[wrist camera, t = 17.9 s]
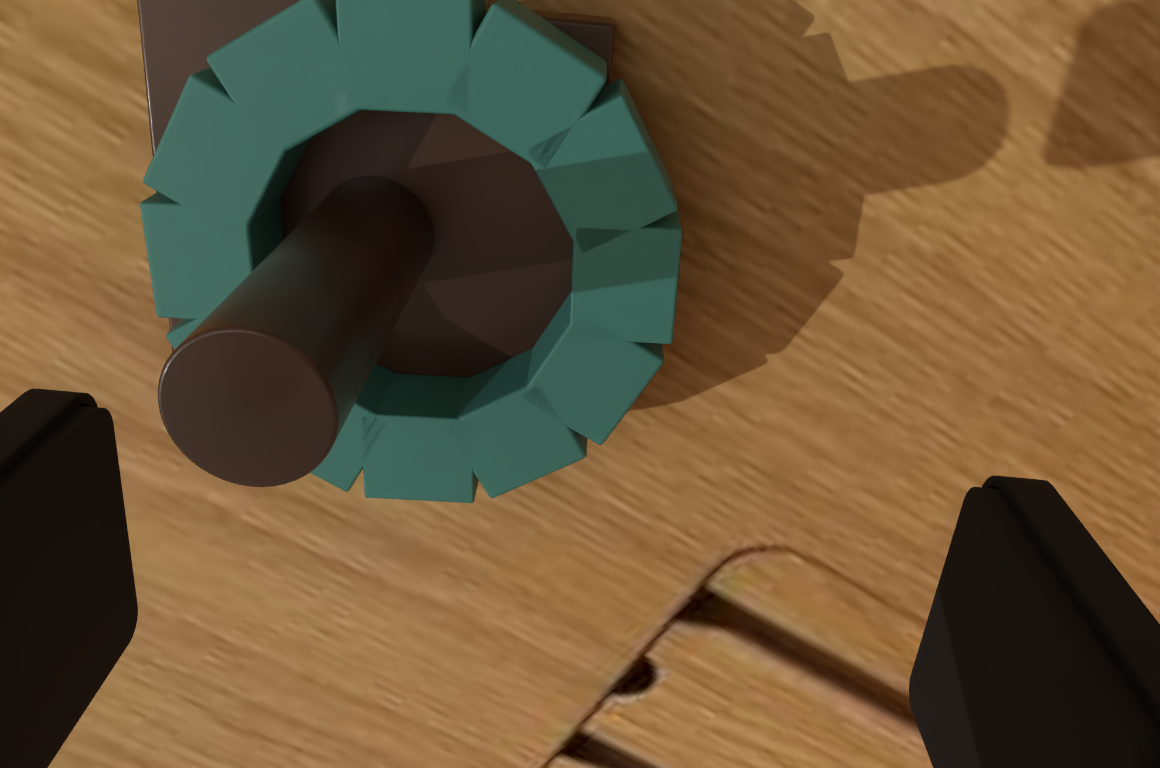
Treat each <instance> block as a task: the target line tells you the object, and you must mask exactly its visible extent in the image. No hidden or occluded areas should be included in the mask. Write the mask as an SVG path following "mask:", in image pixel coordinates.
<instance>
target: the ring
mask: <svg viewBox="0 0 1160 768" xmlns="http://www.w3.org/2000/svg"><path fill="white" fill-rule="evenodd" d="M207 62H208V63H209V65H210V67H208V68H206V69H203V70H201V71H198V72H196V73H193V74H191V75H190V76H189V78H188V80H187V82H186V84H185V87H184V89H183V91H182V93H181V96H180V98H179V100H178V102H177V105H176V107H175V109H174V111H173V114H172V116H171V118H170V120H169V123H168V125H167V127H166V129H165V132H164V134H163V136H162V138H161V141H160V143H159V145H158V147H157V150H156V152H155V154H154V156H153V159H152V161H151V163H150V165H149V168H148V170H147V172H146V174H145V177H144V180H143V182H144V183H145V184H146V185H147V186H149V187H151V188H153V189H154V190H156V191H158V192H157V193H155V194H154V195H152V196H150V197H149V198H147V199H145V200H144V201H142V202H141V204H140V208H141V215H142V221H143V228H144V234H145V241H146V247H147V254H148V261H149V267H150V274H151V280H152V287H153V293H154V300H155V307H156V313H157V316H158V317H161V318H181V319H182V320H181V321H180V322H178V323H177V324H176V325H175V326H174V327H173V328H172V329H171V330H170V331H169V332H168V333H167V334H166V337H167V339H168V340H169V342H170V343H171V344H172V346H173V347H174V348H175V349H176V348H177V347H178V346H179V345H180V344H181V343H182V342H183V341H184V340H185V339H186V338H187V337H188V336H189V335H190V334H191V333H192V332H193V331H194V330H195V329H196V328H197V327H198V326H199V325H200V324H201V323H202V322H203V321H204V320H205V319H206V318H207V317H208V316H209V315H210V314H211V313H212V312H213V311H214V310H215V309H216V308H217V307H218V306H219V305H220V304H221V303H222V302H223V301H224V300H225V298H226V297H227V296H228V295H229V294H230V293H231V292H232V291H233V290H234V289H235V288H236V287H237V286H238V285H239V284H240V283H241V282H242V281H243V280H244V279H245V278H246V277H247V276H248V275H249V274H250V273H251V272H252V271H253V270H254V269H255V268H256V267H257V266H258V265H259V264H260V263H261V262H262V261H263V260H264V259H265V258H266V257H267V256H268V255H269V254H270V253H271V252H272V251H273V250H274V249H275V248H276V247H277V246H278V245H279V244H280V243H281V242H282V241H283V240H284V238H283V227H282V216H281V205H280V197H281V196H282V194H283V192H284V190H285V188H286V186H287V184H288V182H289V180H290V178H291V176H292V174H293V172H294V170H295V168H296V166H297V164H298V162H299V160H300V158H301V156H302V155H303V153H304V151H305V149H306V147H307V145H308V143H309V141H310V139H311V138H312V137H314V136H316V135H317V134H319V133H321V132H323V131H325V130H326V129H328V128H330V127H332V126H334V125H335V124H337V123H339V122H341V121H343V120H344V119H346V118H348V117H350V116H352V115H353V114H355V113H357V112H359V111H361V110H374V111H394V112H414V113H434V114H454V115H456V116H457V117H459V118H460V119H462V120H464V121H465V122H467V123H468V124H470V125H471V126H473V127H475V128H476V129H478V130H479V131H481V132H482V133H484V134H486V135H487V136H489V137H490V138H492V139H493V140H495V141H497V142H498V143H500V144H501V145H503V146H504V147H506V148H508V149H509V150H511V151H512V152H514V153H515V154H517V155H519V156H520V157H522V158H523V159H525V160H526V161H528V162H530V163H531V164H532V166H533V168H534V170H535V172H536V173H537V175H538V177H539V179H540V181H541V183H542V185H543V186H544V188H545V190H546V192H547V194H548V196H549V197H550V199H551V201H552V203H553V205H554V207H555V209H556V210H557V212H558V214H559V216H560V218H561V220H562V222H563V223H564V225H565V227H566V229H567V231H568V233H569V235H570V236H571V238H572V240H573V256H572V279H571V292H570V294H569V295H568V297H567V298H566V300H565V301H564V303H563V304H562V306H561V307H560V309H559V310H558V312H557V313H556V315H555V316H554V317H553V319H552V320H551V322H550V323H549V325H548V326H547V328H546V329H545V331H544V332H543V334H542V335H541V337H540V338H539V340H538V341H537V343H536V344H535V346H534V347H533V348H532V349H530V350H528V351H525V352H523V353H521V354H519V355H517V356H515V357H513V358H511V359H508V360H506V361H504V362H502V363H500V364H498V365H496V366H494V367H491V368H489V369H487V370H485V371H483V372H481V373H479V374H477V375H475V376H472V377H470V378H468V377H449V376H430V375H410V374H395V373H393V372H391V371H390V370H388V369H386V368H384V367H382V366H381V365H379V364H377V363H375V365H374V367H373V369H372V371H371V373H370V375H369V377H368V379H367V381H366V383H365V385H364V387H363V388H362V390H361V392H360V394H359V396H358V398H357V400H356V402H355V404H354V406H353V408H352V410H351V412H350V414H349V415H348V417H347V419H346V421H345V423H344V425H343V427H342V429H341V431H340V433H339V435H338V437H337V439H336V441H335V443H334V444H333V446H332V448H331V450H330V452H329V453H328V455H327V456H326V458H325V459H324V460H323V461H322V463H321V464H320V465H319V466H317V467H316V468H315V469H314V470H313V471H311V472H310V473H312V474H313V475H315V476H317V477H319V478H321V479H323V480H325V481H327V482H329V483H331V484H332V485H334V486H336V487H338V488H340V489H342V490H344V491H346V492H347V491H349V490H350V488H351V487H352V485H353V483H354V482H355V480H356V479H357V477H358V475H359V474H360V472H361V471H362V469H363V473H364V490H365V497H367V498H385V499H404V500H424V501H443V502H462V503H473V502H474V498H475V494H476V490H477V485H478V481H480V483H481V484H482V486H483V487H484V489H485V490H486V492H487V493H488V495H489V497H491V498H495V497H497V496H499V495H501V494H504V493H506V492H508V491H511V490H513V489H515V488H517V487H520V486H522V485H524V484H527V483H529V482H531V481H533V480H536V479H538V478H540V477H543V476H545V475H547V474H549V473H552V472H554V471H556V470H559V469H561V468H563V467H565V466H568V465H570V464H572V463H575V462H577V461H579V460H581V459H584V458H585V457H586V455H587V438H588V439H590V440H592V441H593V442H595V443H597V444H599V445H602V444H603V443H604V442H605V441H606V439H607V438H608V437H609V435H610V434H611V433H612V431H613V430H614V429H615V427H616V426H617V425H618V423H619V422H620V421H621V419H622V418H623V417H624V415H625V414H626V412H627V411H628V410H629V408H630V407H631V406H632V404H633V403H634V402H635V400H636V399H637V398H638V396H639V395H640V394H641V392H642V391H643V390H644V388H645V387H646V386H647V384H648V383H649V382H650V380H651V379H652V378H653V376H654V375H655V374H656V372H657V371H658V370H659V368H660V367H661V366H662V364H663V362H664V356H663V348H662V344H671V343H672V341H673V331H674V320H675V309H676V298H677V287H678V276H679V266H680V255H681V244H682V233H683V232H682V227H681V223H680V218H679V214H678V205H677V201H676V197H675V192H674V188H673V184H672V180H671V178H670V176H669V174H668V172H667V170H666V168H665V166H664V164H663V161H662V159H661V157H660V155H659V153H658V151H657V149H656V147H655V145H654V143H653V141H652V139H651V137H650V135H649V132H648V130H647V128H646V126H645V124H644V122H643V120H642V118H641V116H640V114H639V112H638V110H637V108H636V106H635V104H634V101H633V99H632V97H631V95H630V93H629V91H628V89H627V87H626V85H625V83H624V81H623V80H622V79H618V80H616V81H614V82H612V83H610V84H609V85H607V86H605V87H603V86H604V84H605V83H606V79H607V63H606V61H605V60H604V59H603V58H601V57H600V56H598V55H597V54H595V53H594V52H592V51H591V50H589V49H588V48H586V47H585V46H583V45H582V44H580V43H579V42H577V41H576V40H575V39H573V38H572V37H570V36H569V35H567V34H566V33H564V32H563V31H561V30H560V29H558V28H557V27H555V26H554V25H552V24H551V23H549V22H548V21H546V20H545V19H543V18H542V17H540V16H539V15H537V14H536V13H534V12H533V11H531V10H530V9H529V8H527V7H526V6H524V5H523V4H521V3H520V2H518V1H517V0H497V1H496V2H495V3H493V4H492V5H491V6H490V8H489V10H488V12H487V13H486V15H485V0H299V1H298V2H296V3H294V4H293V5H291V6H289V7H288V8H286V9H284V10H283V11H281V12H279V13H278V14H276V15H274V16H272V17H271V18H269V19H267V20H266V21H264V22H262V23H261V24H259V25H257V26H256V27H254V28H252V29H251V30H249V31H247V32H246V33H244V34H242V35H241V36H239V37H237V38H236V39H234V40H232V41H231V42H229V43H227V44H226V45H224V46H222V47H221V48H219V49H217V50H216V51H214V52H212V53H210V54H209V55H208V57H207Z"/></svg>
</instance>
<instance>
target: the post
mask: <svg viewBox="0 0 1160 768" xmlns="http://www.w3.org/2000/svg"><path fill="white" fill-rule="evenodd" d="M137 1H138V11H139V22H140V32H141V42H142V52H143V62H144V72H145V82H146V92H147V102H148V112H149V122H150V132H151V142H152V152H153V156H154V154H155V152H156V150H157V147H158V145H159V143H160V141H161V138H162V136H163V134H164V132H165V129H166V127H167V125H168V123H169V120H170V118H171V116H172V114H173V111H174V109H175V107H176V105H177V102H178V100H179V98H180V96H181V93H182V91H183V89H184V87H185V84H186V82H187V80H188V78H189V76H190V75H191V74H193V73H196V72H198V71H201V70H203V69H206V68H208V67H210V65H209V63H208V62H207V57H208V55H209V54H210V53H212V52H214V51H216V50H217V49H219V48H221V47H222V46H224V45H226V44H227V43H229V42H231V41H232V40H234V39H236V38H237V37H239V36H241V35H242V34H244V33H246V32H247V31H249V30H251V29H252V28H254V27H256V26H257V25H259V24H261V23H262V22H264V21H266V20H267V19H269V18H271V17H272V16H274V15H276V14H278V13H279V12H281V11H283V10H284V9H286V8H288V7H289V6H291V5H293V4H294V3H296V2H298V1H299V0H137ZM489 8H490V6H485V15H486V13H487V12H488V10H489ZM531 11H533V12H534V13H536V14H537V15H539V16H540V17H542V18H543V19H545V20H546V21H548V22H549V23H551V24H552V25H554V26H555V27H557V28H558V29H560V30H561V31H563V32H564V33H566V34H567V35H569V36H570V37H572V38H573V39H575V40H576V41H577V42H579V43H580V44H582V45H583V46H585V47H586V48H588V49H589V50H591V51H592V52H594V53H595V54H597V55H598V56H600V57H601V58H603V59H604V60H605V61H606V63H607V79H606V83H605V84H604V86H603V87H605V86H607V85H609V84H610V81H611V70H612V60H613V50H614V40H615V30H616V27H615V20H614V19H612V18H608V17H598V16H587V15H577V14H567V13H556V12H546V11H536V10H531ZM156 192H158V191H156ZM280 205H281V216H282V227H283V238H284V240H283V241H282V242H281V243H280V244H279V245H278V246H277V247H276V248H275V249H274V250H273V251H272V252H271V253H270V254H269V255H268V256H267V257H266V258H265V259H264V260H263V261H262V262H261V263H260V264H259V265H258V266H257V267H256V268H255V269H254V270H253V271H252V272H251V273H250V274H249V275H248V276H247V277H246V278H245V279H244V280H243V281H242V282H241V283H240V284H239V285H238V286H237V287H236V288H235V289H234V290H233V291H232V292H231V293H230V294H229V295H228V296H227V297H226V298H225V300H224V301H223V302H222V303H221V304H220V305H219V306H218V307H217V308H216V309H215V310H214V311H213V312H212V313H211V314H210V315H209V316H208V317H207V318H206V319H205V320H204V321H203V322H202V323H201V324H200V325H199V326H198V327H197V328H196V329H195V330H194V331H193V332H192V333H191V334H190V335H189V336H188V337H187V338H186V339H185V340H184V341H183V342H182V343H181V344H180V345H179V346H178V347H177V348H176V349H175V348H174V347H173V346H172V353H171V355H170V356H169V358H168V359H167V361H166V363H165V365H164V367H163V369H162V372H161V376H160V379H159V386H158V404H159V409H160V414H161V417H162V420H163V423H164V425H165V427H166V430H167V432H168V434H169V435H170V437H171V438H172V440H173V441H174V443H175V444H176V445H177V447H178V448H179V449H180V450H181V452H182V453H184V454H185V455H186V456H187V457H188V458H189V459H190V460H191V461H192V462H193V463H195V464H196V465H197V466H198V467H200V468H202V469H203V470H205V471H206V472H208V473H210V474H212V475H214V476H216V477H218V478H220V479H223V480H226V481H228V482H231V483H235V484H239V485H245V486H252V487H269V486H277V485H282V484H286V483H289V482H292V481H295V480H297V479H299V478H301V477H303V476H305V475H307V474H308V473H310V472H311V471H313V470H314V469H315V468H316V467H317V466H319V465H320V464H321V463H322V461H323V460H324V459H325V458H326V456H327V455H328V453H329V452H330V450H331V448H332V446H333V444H334V443H335V441H336V439H337V437H338V435H339V433H340V431H341V429H342V427H343V425H344V423H345V421H346V419H347V417H348V415H349V414H350V412H351V410H352V408H353V406H354V404H355V402H356V400H357V398H358V396H359V394H360V392H361V390H362V388H363V387H364V385H365V383H366V381H367V379H368V377H369V375H370V373H371V371H372V369H373V367H374V365H375V363H377V364H379V365H381V366H382V367H384V368H386V369H388V370H390V371H391V372H393V373H395V374H410V375H430V376H449V377H468V378H470V377H472V376H475V375H477V374H479V373H481V372H483V371H485V370H487V369H489V368H491V367H494V366H496V365H498V364H500V363H502V362H504V361H506V360H508V359H511V358H513V357H515V356H517V355H519V354H521V353H523V352H525V351H528V350H530V349H532V348H533V347H534V346H535V344H536V343H537V341H538V340H539V338H540V337H541V335H542V334H543V332H544V331H545V329H546V328H547V326H548V325H549V323H550V322H551V320H552V319H553V317H554V316H555V315H556V313H557V312H558V310H559V309H560V307H561V306H562V304H563V303H564V301H565V300H566V298H567V297H568V295H569V294H570V292H571V279H572V256H573V240H572V238H571V236H570V235H569V233H568V231H567V229H566V227H565V225H564V223H563V222H562V220H561V218H560V216H559V214H558V212H557V210H556V209H555V207H554V205H553V203H552V201H551V199H550V197H549V196H548V194H547V192H546V190H545V188H544V186H543V185H542V183H541V181H540V179H539V177H538V175H537V173H536V172H535V170H534V168H533V166H532V164H531V163H530V162H528V161H526V160H525V159H523V158H522V157H520V156H519V155H517V154H515V153H514V152H512V151H511V150H509V149H508V148H506V147H504V146H503V145H501V144H500V143H498V142H497V141H495V140H493V139H492V138H490V137H489V136H487V135H486V134H484V133H482V132H481V131H479V130H478V129H476V128H475V127H473V126H471V125H470V124H468V123H467V122H465V121H464V120H462V119H460V118H459V117H457V116H456V115H454V114H434V113H414V112H394V111H374V110H361V111H359V112H357V113H355V114H353V115H352V116H350V117H348V118H346V119H344V120H343V121H341V122H339V123H337V124H335V125H334V126H332V127H330V128H328V129H326V130H325V131H323V132H321V133H319V134H317V135H316V136H314V137H312V138H311V139H310V141H309V143H308V145H307V147H306V149H305V151H304V153H303V155H302V156H301V158H300V160H299V162H298V164H297V166H296V168H295V170H294V172H293V174H292V176H291V178H290V180H289V182H288V184H287V186H286V188H285V190H284V192H283V194H282V196H281V197H280ZM181 320H182V319H181V318H169V323H170V330H171V329H172V328H173V327H174V326H175V325H176V324H177V323H178V322H180V321H181Z"/></svg>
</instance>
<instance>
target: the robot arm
mask: <svg viewBox="0 0 1160 768" xmlns="http://www.w3.org/2000/svg"><path fill="white" fill-rule="evenodd" d="M137 616H138V606H137V598H136V590H135V583H134V575H133V568H132V560H131V553H130V545H129V538H128V530H127V523H126V515H125V507H124V500H123V492H122V485H121V477H120V470H119V462H118V455H117V447H116V440H115V432H114V425H113V420H112V416H111V414H110V412H109V411H108V410H107V409H105V408H98V407H97V404H96V402H95V400H94V398H93V397H92V396H91V395H89V394H88V393H78V392H67V391H56V390H45V389H30V390H28V391H26V392H25V393H23V394H22V395H21V396H20V397H19V398H17V399H16V400H15V401H14V402H12V403H11V404H10V405H9V406H8V407H6V408H5V409H4V410H3V411H2V412H0V768H48V766H49V765H50V763H51V761H52V760H53V758H54V757H55V755H56V754H57V752H58V751H59V749H60V748H61V746H62V745H63V743H64V742H65V740H66V739H67V737H68V736H69V734H70V733H71V731H72V730H73V728H74V726H75V725H76V723H77V722H78V720H79V719H80V717H81V716H82V714H83V713H84V711H85V710H86V708H87V707H88V705H89V704H90V702H91V701H92V699H93V698H94V696H95V694H96V693H97V691H98V690H99V688H100V687H101V685H102V684H103V682H104V681H105V679H106V678H107V676H108V675H109V673H110V672H111V670H112V669H113V667H114V666H115V664H116V662H117V661H118V659H119V658H120V656H121V655H122V653H123V652H124V650H125V649H126V647H127V646H128V644H129V642H130V641H131V639H132V637H133V634H134V631H135V627H136V623H137ZM909 698H910V705H911V709H912V712H913V715H914V718H915V720H916V723H917V726H918V728H919V731H920V734H921V736H922V739H923V741H924V744H925V747H926V749H927V752H928V755H929V757H930V760H931V763H932V765H933V768H1160V624H1159V623H1158V622H1157V620H1156V619H1155V618H1154V616H1153V615H1152V614H1151V613H1150V611H1149V610H1148V609H1147V607H1146V606H1145V605H1144V603H1143V602H1142V601H1141V600H1140V598H1139V597H1138V596H1137V594H1136V593H1135V592H1134V591H1133V589H1132V588H1131V587H1130V585H1129V584H1128V583H1127V581H1126V580H1125V579H1124V578H1123V576H1122V575H1121V574H1120V572H1119V571H1118V570H1117V568H1116V567H1115V566H1114V565H1113V563H1112V562H1111V561H1110V559H1109V558H1108V557H1107V555H1106V554H1105V553H1104V552H1103V550H1102V549H1101V548H1100V546H1099V545H1098V544H1097V543H1096V541H1095V540H1094V539H1093V537H1092V536H1091V535H1090V533H1089V532H1088V531H1087V530H1086V528H1085V527H1084V526H1083V524H1082V523H1081V522H1080V520H1079V519H1078V518H1077V517H1076V515H1075V514H1074V513H1073V511H1072V510H1071V509H1070V507H1069V506H1068V505H1067V504H1066V502H1065V501H1064V500H1063V498H1062V497H1061V496H1060V495H1059V493H1058V492H1057V491H1056V489H1055V488H1054V487H1053V485H1051V484H1050V483H1049V482H1048V481H1045V480H1037V479H1026V478H1015V477H1004V476H991V477H989V478H988V479H987V480H986V481H985V483H984V484H983V486H982V488H981V487H973V488H971V489H970V490H969V491H968V492H967V494H966V496H965V499H964V501H963V505H962V508H961V511H960V514H959V518H958V521H957V524H956V528H955V531H954V534H953V538H952V541H951V544H950V547H949V551H948V554H947V557H946V561H945V564H944V567H943V571H942V574H941V577H940V580H939V584H938V587H937V590H936V594H935V597H934V600H933V604H932V607H931V610H930V613H929V617H928V620H927V623H926V627H925V630H924V633H923V637H922V640H921V643H920V647H919V650H918V653H917V656H916V660H915V663H914V666H913V670H912V673H911V677H910V684H909Z"/></svg>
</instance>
